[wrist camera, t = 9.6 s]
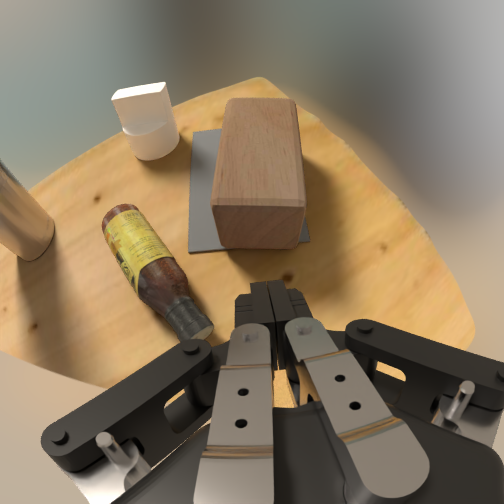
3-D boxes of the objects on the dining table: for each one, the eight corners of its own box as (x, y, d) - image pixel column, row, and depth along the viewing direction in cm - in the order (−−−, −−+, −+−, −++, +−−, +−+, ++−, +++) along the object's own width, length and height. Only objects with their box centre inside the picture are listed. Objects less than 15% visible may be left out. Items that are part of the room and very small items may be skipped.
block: (309, 207, 28) (295, 96, 37) (207, 205, 28) (226, 95, 37) (297, 252, 37) (291, 144, 46) (219, 250, 37) (231, 143, 46)
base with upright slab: (183, 125, 49) (171, 73, 39) (174, 158, 45) (156, 102, 35) (140, 130, 50) (123, 81, 39) (127, 162, 46) (102, 111, 35)
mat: (188, 252, 37) (188, 251, 37) (193, 133, 48) (193, 132, 48) (309, 241, 38) (310, 240, 38) (282, 125, 48) (282, 124, 48)
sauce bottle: (91, 223, 33) (164, 352, 26) (126, 192, 34) (213, 313, 27) (115, 244, 39) (187, 356, 32) (147, 217, 40) (227, 324, 33)
